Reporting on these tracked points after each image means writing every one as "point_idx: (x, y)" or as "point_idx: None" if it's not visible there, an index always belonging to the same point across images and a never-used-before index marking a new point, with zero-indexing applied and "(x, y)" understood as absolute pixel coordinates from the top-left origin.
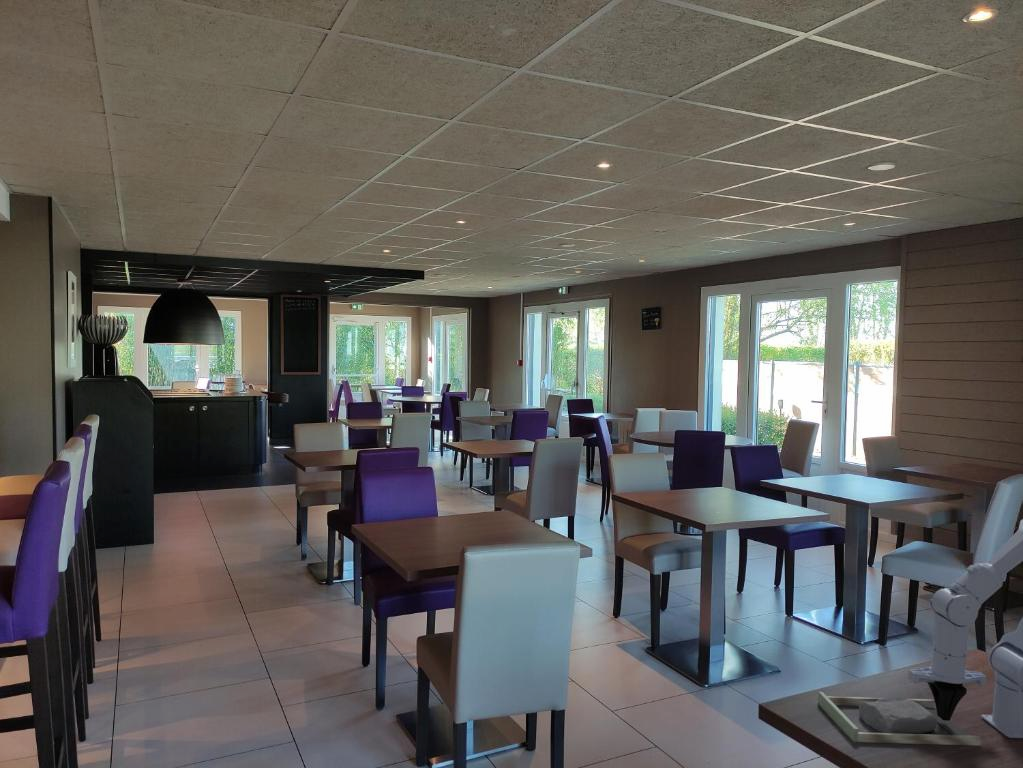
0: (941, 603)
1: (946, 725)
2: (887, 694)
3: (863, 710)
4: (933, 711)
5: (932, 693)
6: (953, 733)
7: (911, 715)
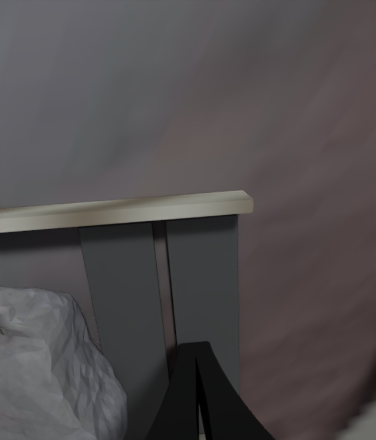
0: None
1: None
2: (52, 64)
3: None
4: (211, 250)
5: (147, 434)
6: None
7: None
